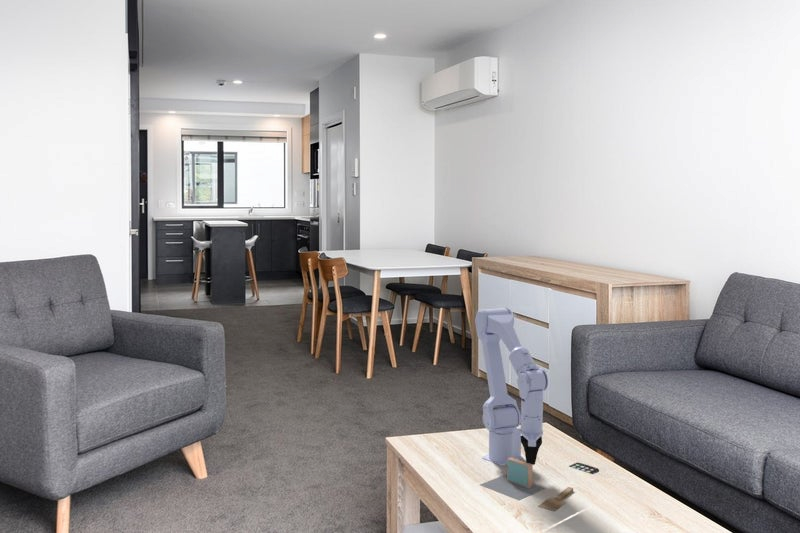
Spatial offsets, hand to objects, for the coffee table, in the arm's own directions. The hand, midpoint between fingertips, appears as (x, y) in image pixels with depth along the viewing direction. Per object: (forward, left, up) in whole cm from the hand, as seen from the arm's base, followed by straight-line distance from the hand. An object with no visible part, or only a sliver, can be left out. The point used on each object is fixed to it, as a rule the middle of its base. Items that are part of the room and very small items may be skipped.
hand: (530, 463), depth 191 cm
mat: (+8, 0, -5) cm, 9 cm away
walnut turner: (+6, +13, -5) cm, 15 cm away
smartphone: (-13, +5, -5) cm, 15 cm away
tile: (+5, 0, -4) cm, 6 cm away
